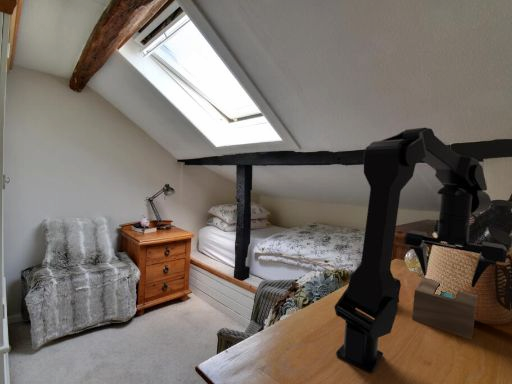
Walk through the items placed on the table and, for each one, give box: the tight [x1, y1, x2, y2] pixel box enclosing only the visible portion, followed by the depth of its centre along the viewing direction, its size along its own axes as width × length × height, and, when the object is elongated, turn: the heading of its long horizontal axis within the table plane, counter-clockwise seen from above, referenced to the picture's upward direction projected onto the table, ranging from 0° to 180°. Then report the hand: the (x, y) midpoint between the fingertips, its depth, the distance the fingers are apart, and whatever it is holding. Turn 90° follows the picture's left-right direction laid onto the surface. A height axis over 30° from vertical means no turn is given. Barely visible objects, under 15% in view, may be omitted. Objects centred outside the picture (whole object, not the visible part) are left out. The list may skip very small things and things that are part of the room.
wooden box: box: [411, 277, 478, 341], centre depth 64 cm, size 11×11×7 cm
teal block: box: [440, 291, 454, 299], centre depth 64 cm, size 6×2×5 cm, turn 141°
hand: (447, 280), depth 64 cm, fingers open, 9 cm apart
